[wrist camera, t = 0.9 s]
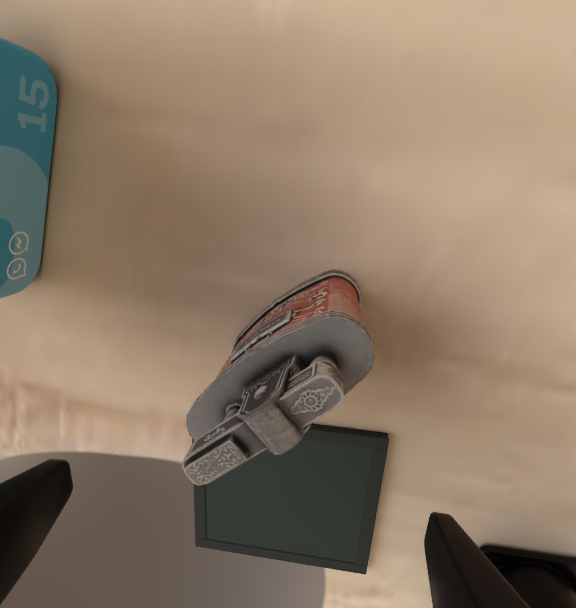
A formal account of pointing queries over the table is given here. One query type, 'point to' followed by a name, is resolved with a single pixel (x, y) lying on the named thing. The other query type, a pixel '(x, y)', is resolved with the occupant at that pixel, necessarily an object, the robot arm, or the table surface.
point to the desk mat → (299, 501)
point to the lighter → (281, 376)
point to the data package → (23, 162)
